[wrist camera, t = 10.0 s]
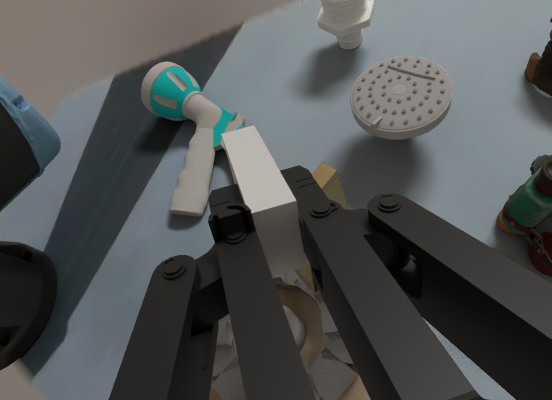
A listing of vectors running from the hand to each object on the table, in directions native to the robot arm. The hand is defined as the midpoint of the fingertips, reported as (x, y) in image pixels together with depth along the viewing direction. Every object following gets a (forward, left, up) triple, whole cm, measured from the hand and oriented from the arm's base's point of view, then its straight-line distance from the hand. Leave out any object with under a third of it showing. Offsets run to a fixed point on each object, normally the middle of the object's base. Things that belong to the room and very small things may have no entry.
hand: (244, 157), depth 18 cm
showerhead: (+10, +16, -23) cm, 30 cm away
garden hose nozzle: (-14, +21, -24) cm, 34 cm away
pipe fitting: (+7, +32, -23) cm, 40 cm away
